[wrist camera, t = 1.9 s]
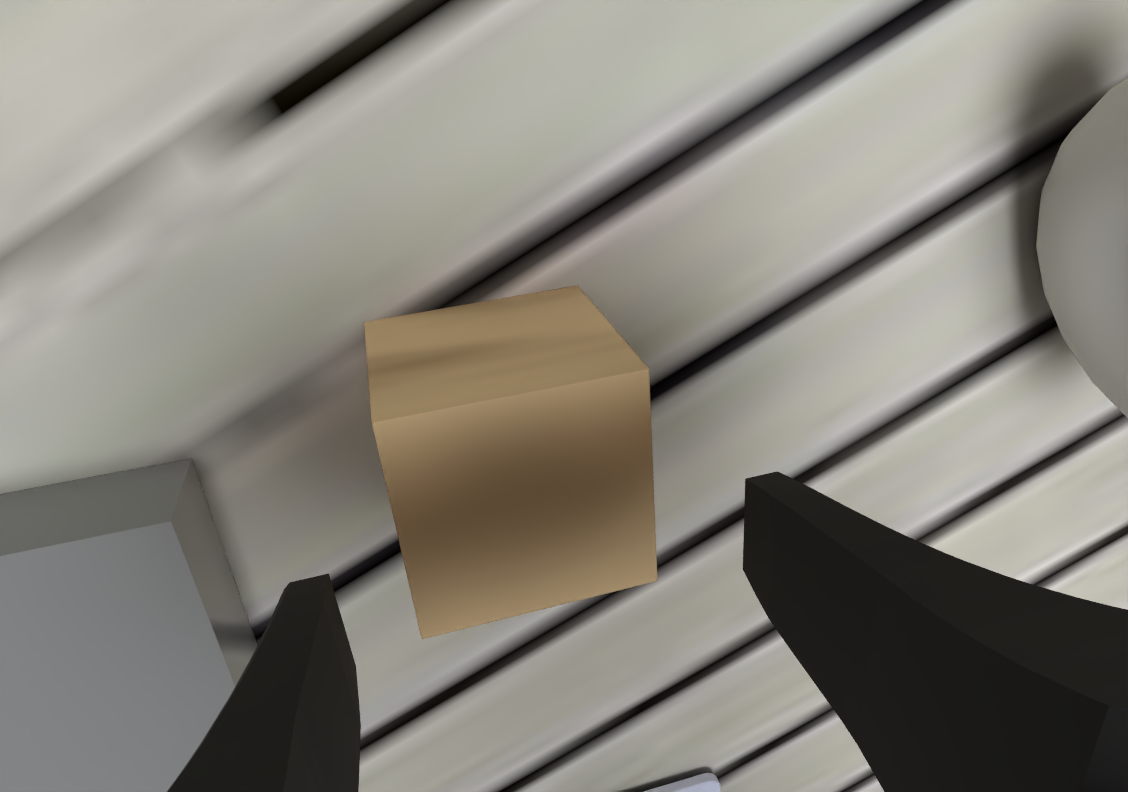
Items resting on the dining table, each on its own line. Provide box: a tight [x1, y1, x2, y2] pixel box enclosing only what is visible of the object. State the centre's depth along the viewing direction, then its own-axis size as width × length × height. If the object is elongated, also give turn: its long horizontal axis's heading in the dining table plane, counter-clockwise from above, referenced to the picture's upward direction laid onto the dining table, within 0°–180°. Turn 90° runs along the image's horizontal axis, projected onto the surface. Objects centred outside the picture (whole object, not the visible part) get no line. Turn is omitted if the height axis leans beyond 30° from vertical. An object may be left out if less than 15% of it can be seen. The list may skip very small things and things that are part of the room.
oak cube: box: [364, 285, 657, 639], centre depth 17 cm, size 5×5×5 cm
